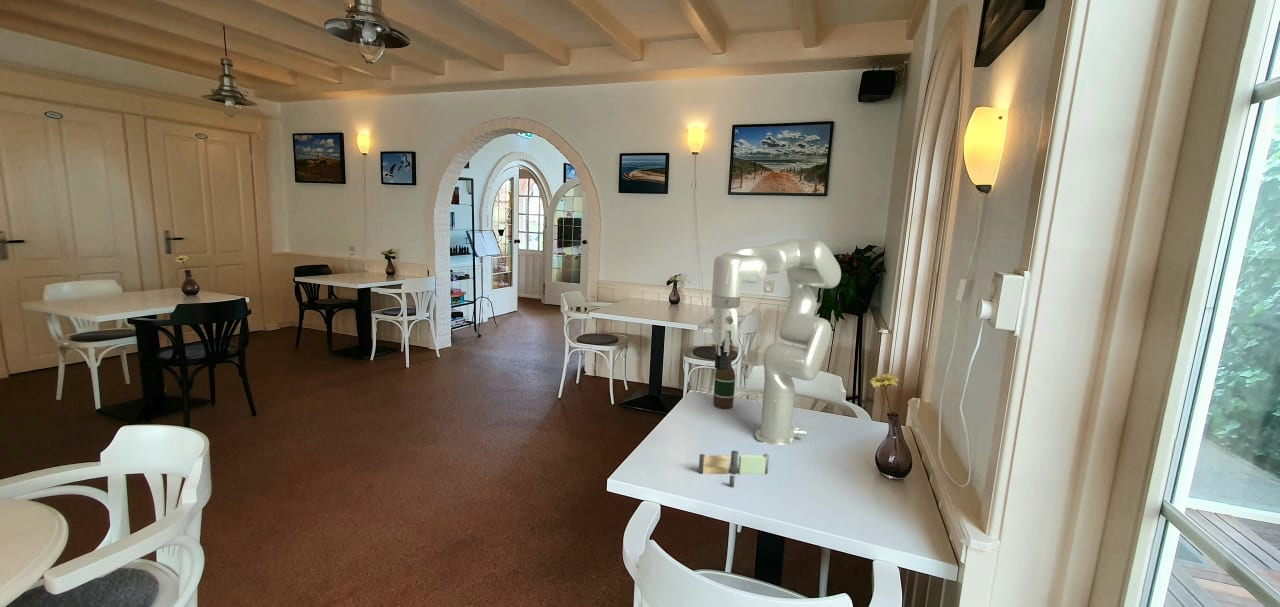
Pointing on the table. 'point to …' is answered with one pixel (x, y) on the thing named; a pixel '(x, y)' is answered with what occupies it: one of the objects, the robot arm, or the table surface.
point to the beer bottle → (724, 386)
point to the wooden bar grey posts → (719, 465)
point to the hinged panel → (753, 464)
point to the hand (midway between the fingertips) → (721, 368)
